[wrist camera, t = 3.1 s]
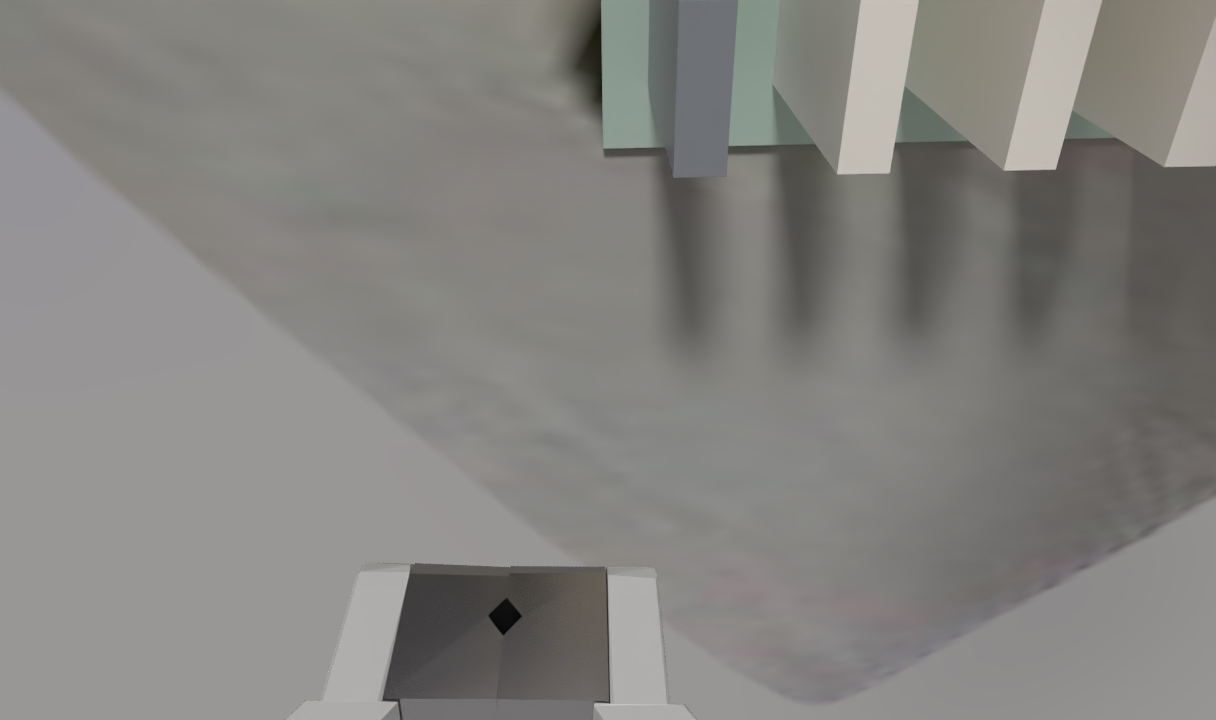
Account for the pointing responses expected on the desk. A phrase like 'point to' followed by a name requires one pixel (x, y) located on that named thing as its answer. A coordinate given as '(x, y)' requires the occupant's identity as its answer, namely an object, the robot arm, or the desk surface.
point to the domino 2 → (846, 75)
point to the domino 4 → (1154, 78)
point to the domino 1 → (693, 81)
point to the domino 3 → (1003, 72)
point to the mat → (737, 86)
